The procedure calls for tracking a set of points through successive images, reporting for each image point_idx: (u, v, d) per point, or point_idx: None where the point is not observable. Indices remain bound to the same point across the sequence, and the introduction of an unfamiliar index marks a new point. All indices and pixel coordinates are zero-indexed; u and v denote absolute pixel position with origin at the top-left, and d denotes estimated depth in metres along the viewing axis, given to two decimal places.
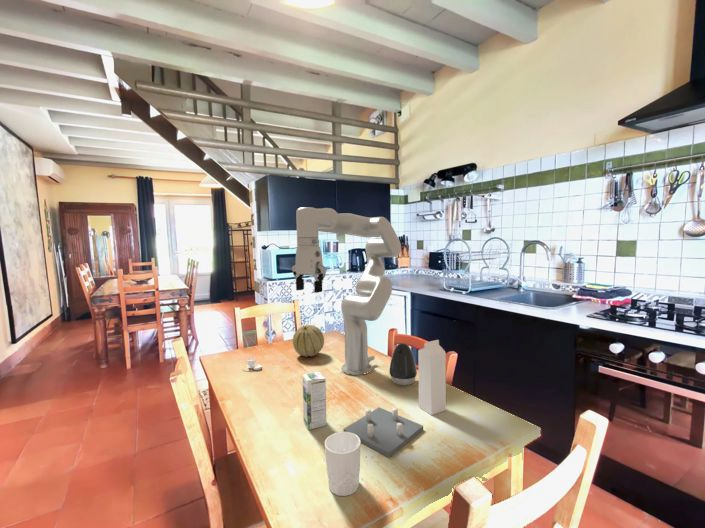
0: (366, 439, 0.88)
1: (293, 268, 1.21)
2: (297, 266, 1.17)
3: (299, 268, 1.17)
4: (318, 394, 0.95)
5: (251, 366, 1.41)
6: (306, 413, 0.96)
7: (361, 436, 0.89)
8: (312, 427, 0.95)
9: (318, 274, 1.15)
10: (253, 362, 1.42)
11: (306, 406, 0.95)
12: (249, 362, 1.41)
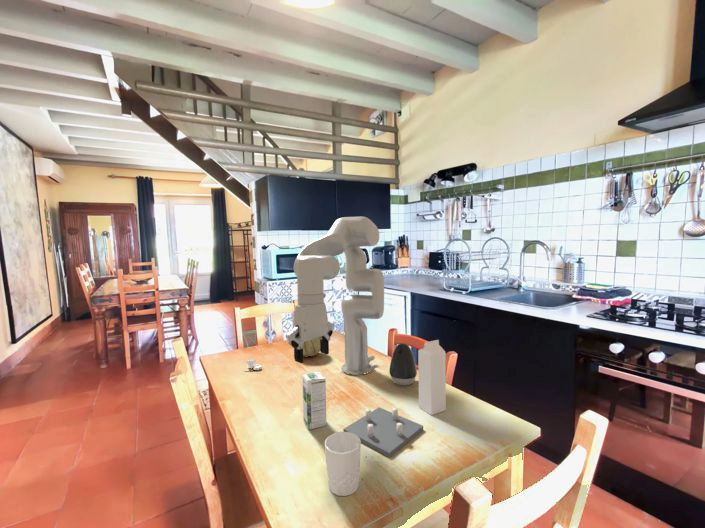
0: (366, 439, 0.88)
1: (291, 336, 0.90)
2: (307, 331, 0.92)
3: (310, 332, 0.93)
4: (318, 394, 0.95)
5: (251, 366, 1.41)
6: (306, 413, 0.96)
7: (361, 436, 0.89)
8: (312, 427, 0.95)
9: None
10: (253, 362, 1.41)
11: (306, 406, 0.95)
12: (249, 362, 1.41)
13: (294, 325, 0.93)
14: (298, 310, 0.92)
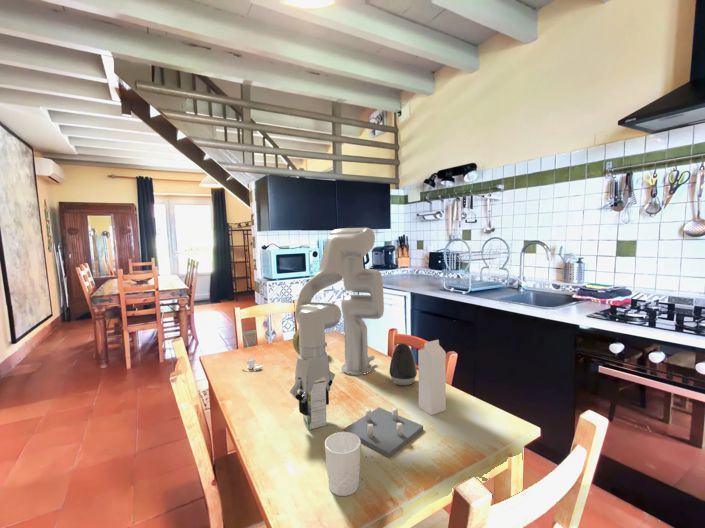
0: (366, 439, 0.88)
1: (295, 392, 0.92)
2: (309, 383, 0.93)
3: (312, 384, 0.94)
4: (318, 394, 0.95)
5: (251, 366, 1.41)
6: None
7: (361, 436, 0.89)
8: (312, 427, 0.95)
9: None
10: (253, 362, 1.41)
11: None
12: (249, 362, 1.41)
13: (296, 377, 0.95)
14: (300, 362, 0.94)
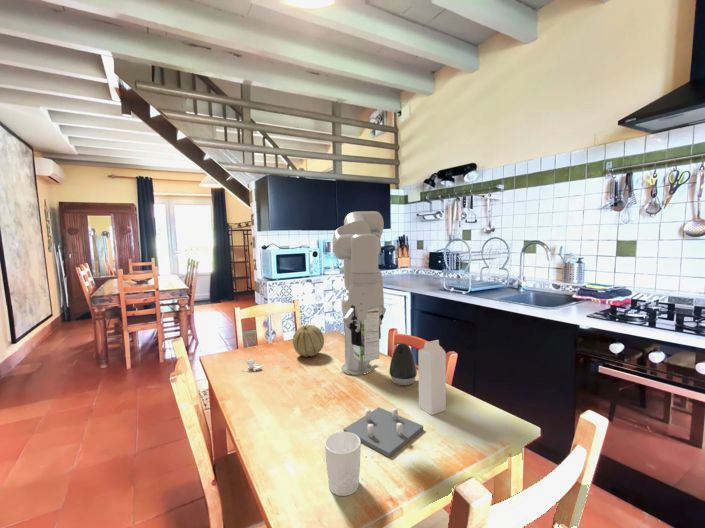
0: (366, 439, 0.88)
1: (349, 319, 0.86)
2: (363, 311, 0.88)
3: (366, 313, 0.89)
4: (371, 324, 0.90)
5: (251, 366, 1.41)
6: None
7: (361, 436, 0.89)
8: (365, 359, 0.90)
9: None
10: (253, 362, 1.41)
11: None
12: (249, 362, 1.41)
13: (349, 305, 0.89)
14: (353, 290, 0.88)
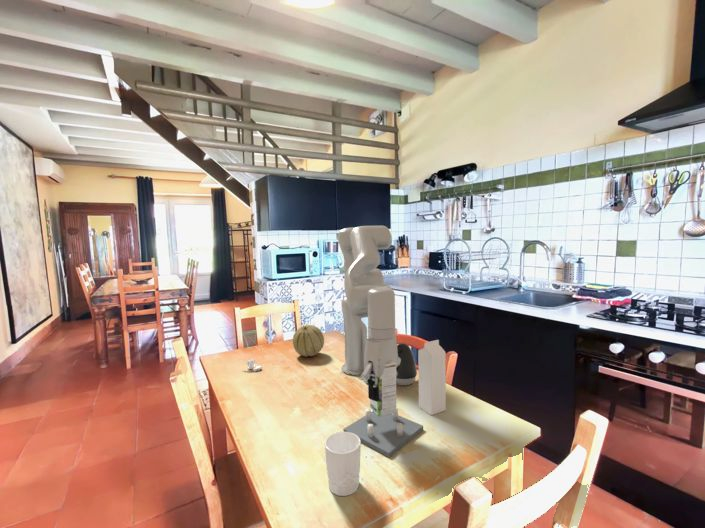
0: (366, 439, 0.88)
1: (367, 376, 0.86)
2: (380, 367, 0.88)
3: (383, 368, 0.89)
4: (389, 379, 0.90)
5: (251, 367, 1.41)
6: None
7: (361, 436, 0.89)
8: (383, 414, 0.89)
9: None
10: (253, 363, 1.41)
11: None
12: (249, 363, 1.40)
13: (366, 360, 0.89)
14: (371, 345, 0.88)
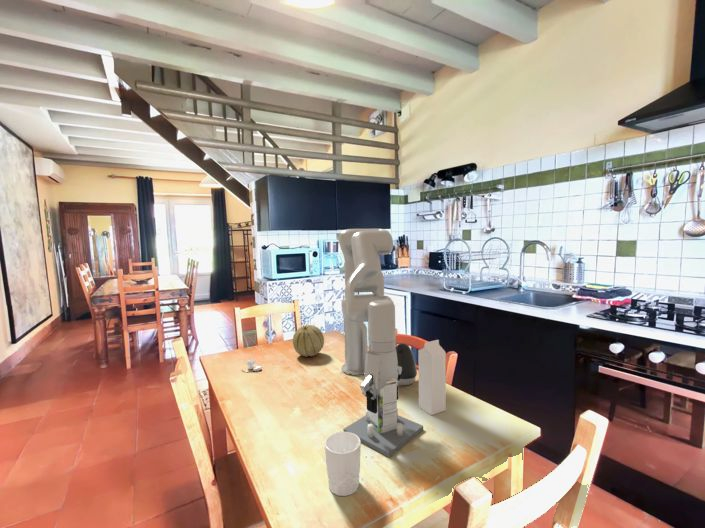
0: (366, 439, 0.88)
1: (366, 387, 0.86)
2: (381, 380, 0.88)
3: (384, 381, 0.89)
4: (389, 396, 0.90)
5: (250, 367, 1.40)
6: (377, 416, 0.91)
7: (361, 436, 0.89)
8: (383, 431, 0.90)
9: None
10: (252, 363, 1.41)
11: (377, 409, 0.90)
12: (248, 363, 1.40)
13: (366, 373, 0.89)
14: (371, 358, 0.88)
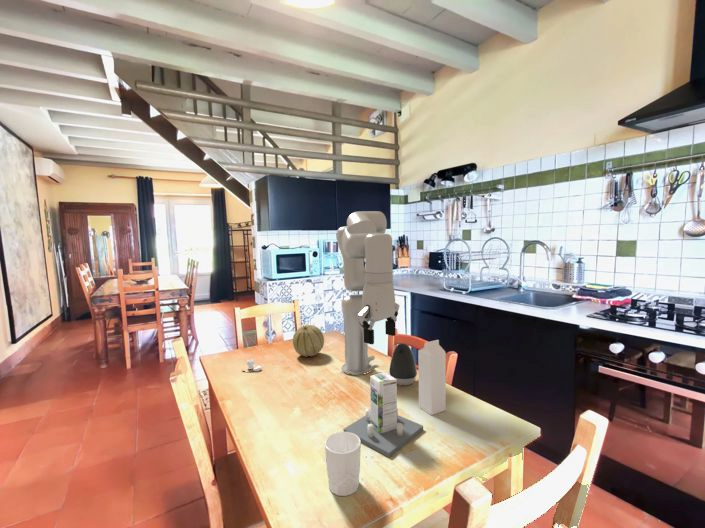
0: (366, 439, 0.88)
1: (363, 317, 0.86)
2: (378, 311, 0.88)
3: (381, 312, 0.89)
4: (389, 396, 0.90)
5: (250, 367, 1.40)
6: (377, 416, 0.91)
7: (361, 436, 0.89)
8: (383, 431, 0.90)
9: None
10: (252, 363, 1.41)
11: (377, 409, 0.90)
12: (248, 363, 1.40)
13: (363, 305, 0.89)
14: (368, 289, 0.88)
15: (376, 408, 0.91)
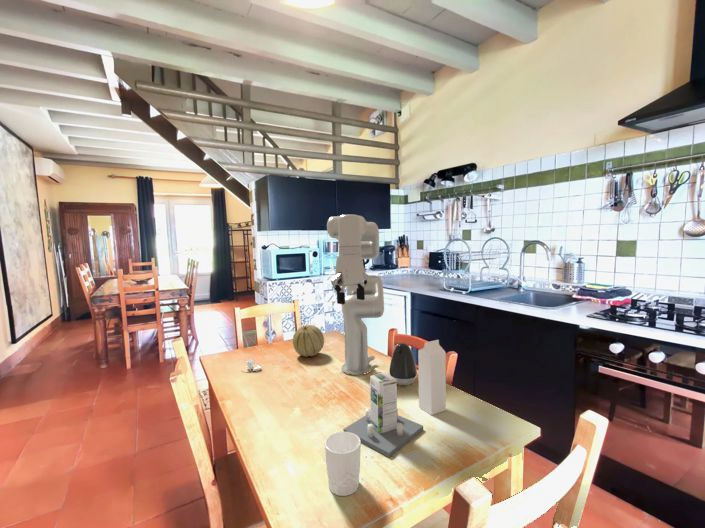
0: (366, 439, 0.88)
1: (335, 281, 1.06)
2: (348, 277, 1.08)
3: (350, 279, 1.09)
4: (389, 396, 0.90)
5: (250, 367, 1.40)
6: (377, 416, 0.91)
7: (361, 436, 0.89)
8: (383, 431, 0.90)
9: None
10: (252, 363, 1.40)
11: (377, 409, 0.90)
12: (248, 363, 1.40)
13: (337, 272, 1.09)
14: (340, 259, 1.08)
15: (376, 408, 0.91)
